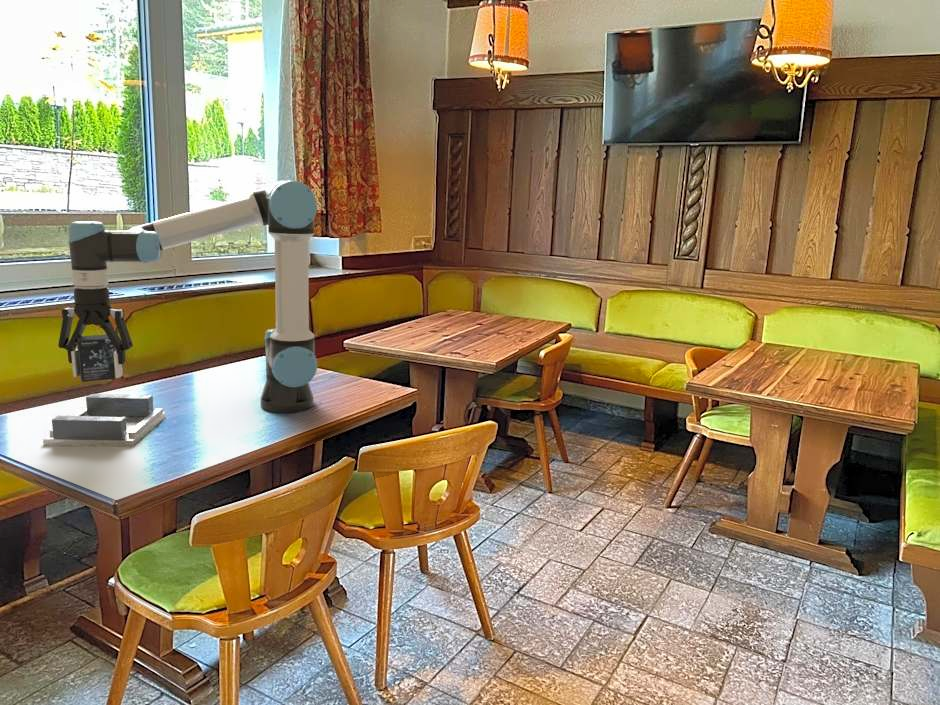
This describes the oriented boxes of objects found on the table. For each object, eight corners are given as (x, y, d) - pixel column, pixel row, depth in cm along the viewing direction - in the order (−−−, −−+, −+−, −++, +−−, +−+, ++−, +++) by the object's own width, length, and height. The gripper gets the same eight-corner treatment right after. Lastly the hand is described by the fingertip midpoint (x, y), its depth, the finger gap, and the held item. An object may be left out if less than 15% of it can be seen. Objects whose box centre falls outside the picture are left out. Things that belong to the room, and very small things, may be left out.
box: (82, 383, 170) (78, 340, 167) (79, 377, 174) (75, 335, 172) (117, 379, 174) (114, 337, 172) (114, 373, 179) (111, 333, 176)
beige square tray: (165, 417, 192) (164, 394, 191) (133, 446, 171) (131, 421, 169) (86, 415, 191) (84, 392, 189) (43, 445, 169) (40, 419, 168)
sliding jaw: (153, 412, 190) (152, 395, 189) (149, 416, 187) (148, 398, 186) (92, 411, 189) (91, 393, 188) (87, 415, 186) (85, 397, 185)
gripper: (35, 287, 165) (44, 379, 170) (131, 290, 166) (138, 381, 171) (51, 282, 172) (60, 371, 177) (144, 285, 173) (149, 373, 179)
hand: (98, 376), depth 174 cm, fingers closed on box, 9 cm apart
